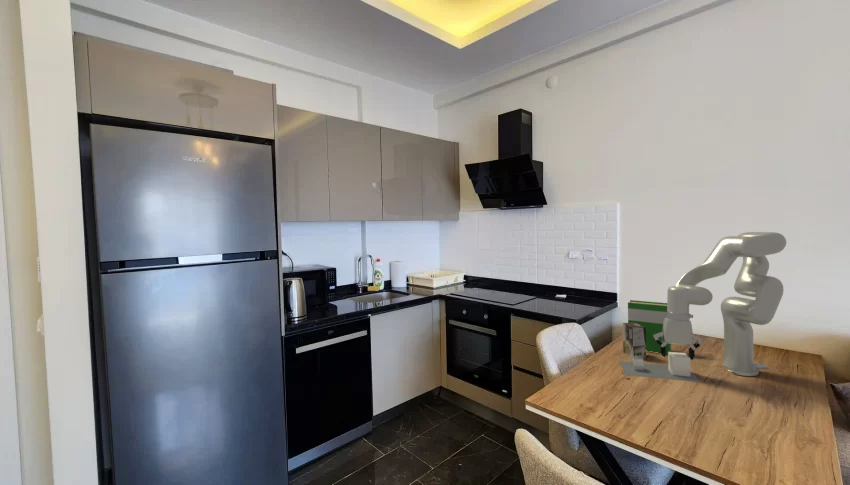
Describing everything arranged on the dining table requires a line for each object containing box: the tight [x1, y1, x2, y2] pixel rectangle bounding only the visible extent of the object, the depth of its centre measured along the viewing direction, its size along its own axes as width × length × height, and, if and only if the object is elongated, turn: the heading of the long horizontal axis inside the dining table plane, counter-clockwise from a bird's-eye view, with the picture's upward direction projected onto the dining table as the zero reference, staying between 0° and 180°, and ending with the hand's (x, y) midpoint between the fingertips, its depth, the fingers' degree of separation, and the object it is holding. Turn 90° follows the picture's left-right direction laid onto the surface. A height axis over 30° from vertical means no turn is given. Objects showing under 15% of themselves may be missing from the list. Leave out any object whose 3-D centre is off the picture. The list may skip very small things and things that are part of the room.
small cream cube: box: [667, 351, 691, 376], centre depth 151 cm, size 6×6×8 cm
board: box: [619, 361, 701, 383], centre depth 154 cm, size 26×16×2 cm, turn 70°
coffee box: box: [622, 322, 647, 359], centre depth 173 cm, size 9×6×16 cm
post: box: [631, 356, 645, 371], centre depth 156 cm, size 4×4×5 cm
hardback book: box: [627, 299, 672, 354], centre depth 183 cm, size 18×7×24 cm, turn 51°
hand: (676, 357), depth 151 cm, fingers open, 9 cm apart
